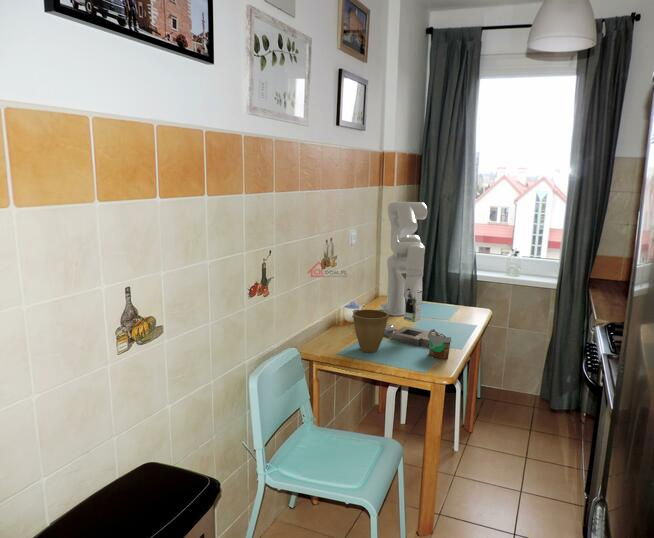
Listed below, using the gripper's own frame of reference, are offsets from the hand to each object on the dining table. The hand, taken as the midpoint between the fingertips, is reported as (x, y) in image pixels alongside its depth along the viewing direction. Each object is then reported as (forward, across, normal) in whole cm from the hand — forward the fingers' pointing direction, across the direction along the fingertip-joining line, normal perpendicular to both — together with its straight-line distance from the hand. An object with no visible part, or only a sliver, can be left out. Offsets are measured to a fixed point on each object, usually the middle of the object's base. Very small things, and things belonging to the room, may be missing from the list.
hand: (412, 310), depth 235 cm
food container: (+14, +14, +18) cm, 27 cm away
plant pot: (+14, +24, -8) cm, 29 cm away
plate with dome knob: (+13, 0, -4) cm, 14 cm away
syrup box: (+5, 0, 0) cm, 5 cm away
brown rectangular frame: (+13, 0, +4) cm, 14 cm away
